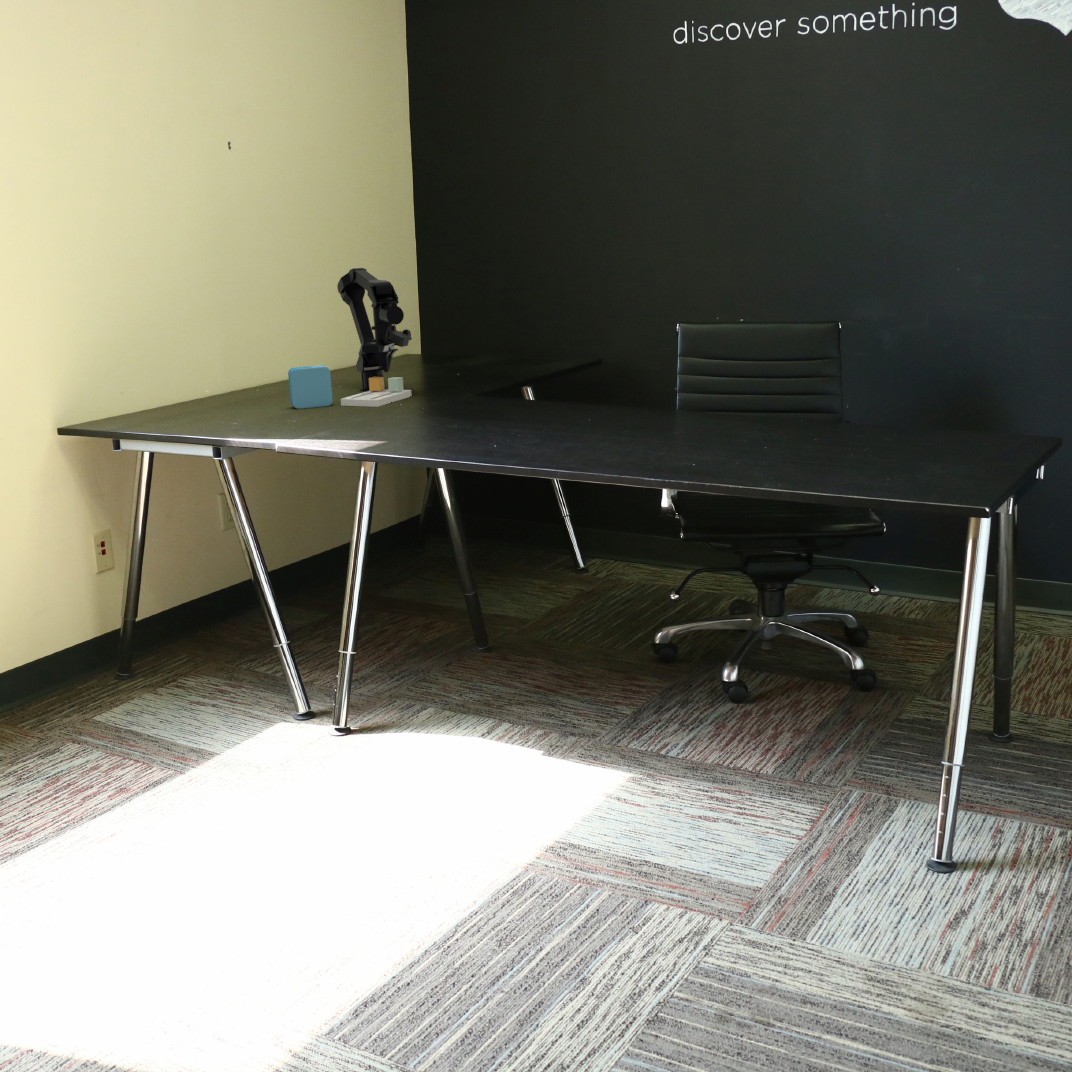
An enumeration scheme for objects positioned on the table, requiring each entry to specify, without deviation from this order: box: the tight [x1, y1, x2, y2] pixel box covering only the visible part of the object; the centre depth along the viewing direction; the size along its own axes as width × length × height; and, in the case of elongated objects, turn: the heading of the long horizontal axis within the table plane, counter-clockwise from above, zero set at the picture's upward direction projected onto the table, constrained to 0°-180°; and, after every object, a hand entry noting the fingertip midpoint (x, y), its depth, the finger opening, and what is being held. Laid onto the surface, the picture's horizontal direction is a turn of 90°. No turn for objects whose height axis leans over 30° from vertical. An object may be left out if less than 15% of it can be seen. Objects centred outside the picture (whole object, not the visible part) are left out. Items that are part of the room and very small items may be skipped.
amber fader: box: [369, 377, 385, 391], centre depth 368 cm, size 4×3×4 cm
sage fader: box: [387, 376, 405, 392], centre depth 365 cm, size 4×3×4 cm
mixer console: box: [340, 388, 412, 408], centre depth 362 cm, size 13×20×2 cm, turn 155°
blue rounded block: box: [287, 364, 334, 410], centre depth 356 cm, size 12×4×12 cm, turn 110°
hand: (386, 372), depth 373 cm, fingers closed
